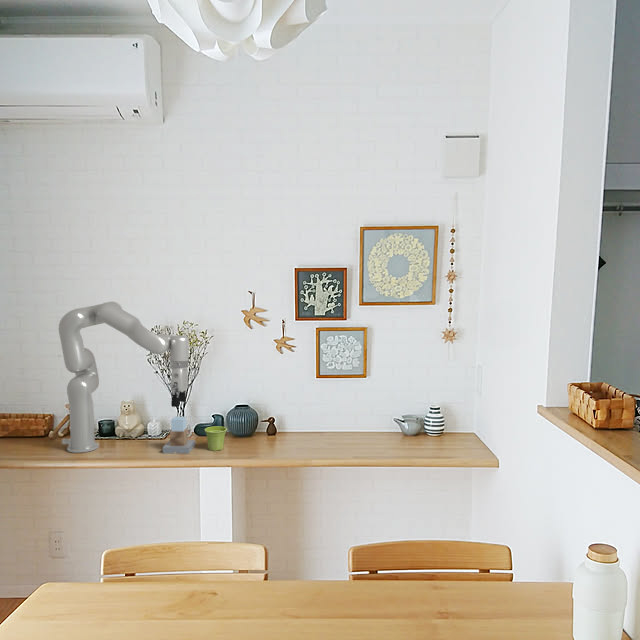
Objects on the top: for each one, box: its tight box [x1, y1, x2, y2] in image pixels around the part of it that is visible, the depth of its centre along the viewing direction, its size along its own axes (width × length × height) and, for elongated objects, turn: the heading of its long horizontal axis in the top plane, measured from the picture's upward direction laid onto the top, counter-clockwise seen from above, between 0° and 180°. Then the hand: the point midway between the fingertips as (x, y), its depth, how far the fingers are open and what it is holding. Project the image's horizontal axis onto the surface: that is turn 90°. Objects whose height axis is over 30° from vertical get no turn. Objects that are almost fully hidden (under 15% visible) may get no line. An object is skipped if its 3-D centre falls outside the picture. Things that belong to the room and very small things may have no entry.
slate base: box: [162, 439, 196, 454], centre depth 254 cm, size 11×11×2 cm
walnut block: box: [169, 427, 189, 446], centre depth 254 cm, size 6×6×6 cm
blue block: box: [170, 416, 187, 431], centre depth 254 cm, size 5×5×5 cm
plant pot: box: [204, 425, 228, 452], centre depth 255 cm, size 9×9×9 cm
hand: (178, 404), depth 256 cm, fingers open, 9 cm apart
